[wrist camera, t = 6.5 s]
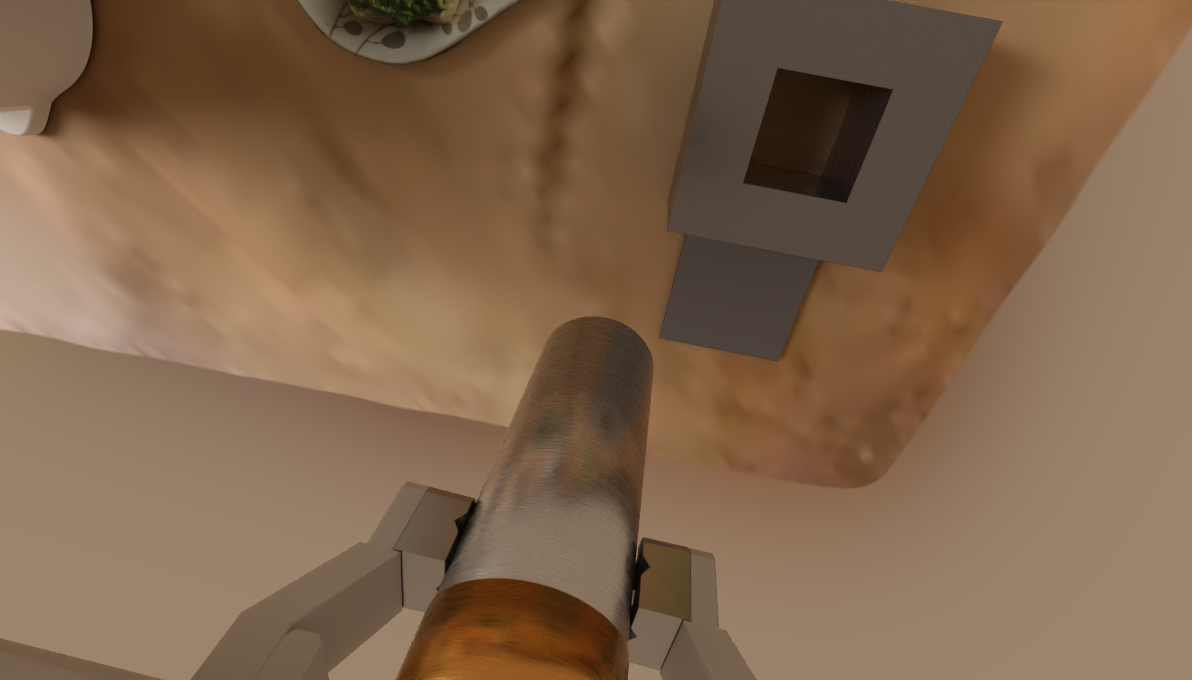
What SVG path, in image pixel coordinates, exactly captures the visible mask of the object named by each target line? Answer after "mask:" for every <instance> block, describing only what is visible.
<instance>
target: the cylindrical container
mask: <svg viewBox="0 0 1192 680" xmlns="http://www.w3.org/2000/svg"><path fill="white" fill-rule="evenodd" d="M653 367H654V366H653V359H652V356H651V353H650V351H649V348H648V347H647V345H646V343H645V342H644V341H643V339H642V338H641V337H640V336H639V335H638V334H637V333H636V332H635V331H633V330H632V329H631V328H629V327H628V326H626V325H624V324H622V323H620V322H618V321H615V320H612V319H609V318H603V317H582V318H577V319H574V320H571V321H568V322H566V323H564V324H563V325H561V326H560V327H558V328H557V329H556V330H555V331H554V332H553V333H552V334H551V335H550V336H549V338H548V340H547V341H546V343H545V345H544V348H543V350H542V352H541V355H540V357H539V359H538V362H537V364H536V366H535V368H534V371H533V373H532V375H531V378H530V380H529V382H528V385H527V387H526V389H525V391H524V394H523V396H522V398H521V401H520V403H519V405H518V408H517V410H516V412H515V414H514V417H513V419H512V421H511V424H510V426H509V428H508V431H507V433H506V435H505V437H504V440H503V442H502V445H501V447H500V449H499V451H498V454H497V456H496V458H495V460H494V463H493V465H492V467H491V470H490V472H489V474H488V477H487V479H486V481H485V483H484V486H483V488H482V490H481V493H480V495H479V497H478V499H477V502H476V504H475V507H474V509H473V511H472V514H471V516H470V518H469V521H468V523H467V525H466V527H465V529H464V532H463V534H462V536H461V539H460V541H459V543H458V546H457V548H456V551H455V553H454V555H453V557H452V560H451V562H450V564H449V567H448V569H447V571H446V573H445V576H444V578H443V580H442V582H441V584H440V587H439V589H438V591H437V594H436V596H435V597H434V598H433V599H432V601H431V602H430V604H429V605H428V607H427V609H426V612H425V614H424V616H423V618H422V621H421V623H420V625H419V628H418V630H417V632H416V634H415V637H414V639H413V642H412V643H411V646H410V648H409V651H408V652H407V655H406V657H405V659H404V662H403V664H402V666H401V668H400V671H399V673H398V675H397V677H396V680H628V669H629V652H628V637H629V627H630V616H631V605H632V595H633V584H634V573H635V563H636V552H637V541H638V531H639V520H640V509H641V499H642V488H643V477H644V466H645V456H646V445H647V434H648V424H649V413H650V402H651V392H652V381H653Z"/></svg>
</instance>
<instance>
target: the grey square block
mask: <svg viewBox="0 0 1192 680" xmlns="http://www.w3.org/2000/svg"><path fill="white" fill-rule="evenodd" d="M1002 22H1003V21H997V20H992V19H986V18H981V17H975V16H970V15H964V14H959V13H953V12H948V11H942V10H937V9H931V8H926V7H920V6H915V5H909V4H904V3H898V2H893V1H887V0H715V1H714V6H713V10H712V14H711V19H710V23H709V27H708V32H707V36H706V40H705V44H704V49H703V53H702V57H701V62H700V66H699V70H698V75H697V79H696V83H695V88H694V92H693V96H692V101H691V105H690V109H689V114H688V118H687V122H686V126H685V131H684V135H683V139H682V144H681V148H680V152H679V157H678V161H677V165H676V170H675V174H674V178H673V183H672V187H671V191H670V195H669V200H668V221H667V230H668V231H673V232H678V233H683V234H688V235H694V236H699V237H704V238H709V239H714V240H719V241H724V242H730V243H735V244H740V245H745V246H750V247H755V248H760V249H766V250H771V251H776V252H781V253H786V254H791V255H796V256H802V257H807V258H812V259H817V260H822V261H827V262H832V263H838V264H843V265H848V266H853V267H858V268H863V269H868V270H874V271H879V272H882V270H883V268H884V266H885V264H886V262H887V260H888V258H889V256H890V254H891V252H892V250H893V248H894V246H895V243H896V241H897V239H898V237H899V235H900V233H901V231H902V229H903V227H904V225H905V223H906V221H907V219H908V217H909V214H910V212H911V210H912V208H913V206H914V204H915V202H916V200H917V198H918V196H919V194H920V192H921V190H922V188H923V185H924V183H925V181H926V179H927V177H928V175H929V173H930V171H931V169H932V167H933V165H934V163H935V161H936V159H937V156H938V154H939V152H940V150H941V148H942V146H943V144H944V142H945V140H946V138H947V136H948V134H949V132H950V130H951V127H952V125H953V123H954V121H955V119H956V117H957V115H958V113H959V111H960V109H961V107H962V105H963V103H964V101H965V98H966V96H967V94H968V92H969V90H970V88H971V86H972V84H973V82H974V80H975V78H976V76H977V74H978V72H979V69H980V67H981V65H982V63H983V61H984V59H985V57H986V55H987V53H988V51H989V49H990V47H991V45H992V43H993V40H994V38H995V36H996V34H997V32H998V30H999V28H1000V26H1001V24H1002ZM778 68H781V69H786V70H792V71H797V72H802V73H808V74H813V75H819V76H824V77H829V78H835V79H840V80H845V81H851V82H856V83H857V85H856V88H855V90H854V93H853V95H852V98H851V101H850V103H849V106H848V109H847V111H846V114H845V117H844V119H843V122H842V125H841V127H840V130H839V133H838V135H837V138H836V140H835V143H834V146H833V148H832V151H831V154H830V156H829V159H828V162H827V164H826V167H825V170H824V172H823V175H822V176H817V175H812V174H807V173H802V172H796V171H791V170H786V169H781V168H775V167H770V166H765V165H760V164H754V163H749V162H750V158H751V155H752V152H753V148H754V145H755V142H756V138H757V135H758V132H759V128H760V125H761V122H762V119H763V115H764V112H765V109H766V105H767V102H768V99H769V95H770V92H771V89H772V85H773V82H774V79H775V75H776V72H777V69H778Z"/></svg>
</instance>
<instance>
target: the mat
mask: <svg viewBox="0 0 1192 680" xmlns="http://www.w3.org/2000/svg"><path fill="white" fill-rule="evenodd" d="M818 262H819V260H817V259H812V258H807V257H802V256H796V255H791V254H786V253H781V252H776V251H771V250H766V249H760V248H755V247H750V246H745V245H740V244H735V243H730V242H724V241H719V240H714V239H709V238H704V237H699V236H694V235H688V234H686V236H685V240H684V244H683V248H682V252H681V255H680V259H679V263H678V267H677V271H676V275H675V279H674V283H673V286H672V290H671V294H670V298H669V302H668V306H667V310H666V313H665V317H664V321H663V325H662V329H661V333H660V338H662V339H667V340H672V341H677V342H682V343H687V344H692V345H697V346H702V347H707V348H712V349H717V350H723V351H728V352H733V353H738V354H743V355H748V356H753V357H758V358H763V359H768V360H773V361H778V360H779V357H780V355H781V352H782V350H783V348H784V345H785V343H786V340H787V338H788V335H789V333H790V330H791V328H792V326H793V323H794V321H795V318H796V316H797V313H798V311H799V308H800V306H801V304H802V301H803V299H804V296H805V294H806V291H807V289H808V286H809V284H810V282H811V279H812V277H813V274H814V272H815V269H816V267H817V265H818Z"/></svg>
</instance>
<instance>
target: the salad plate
mask: <svg viewBox="0 0 1192 680" xmlns="http://www.w3.org/2000/svg"><path fill="white" fill-rule="evenodd" d="M518 1H519V0H298V2H299V3H300V5H301V6H302V7H303V9H304V10H305V11H306V13H307V14H308V15H309V17H310V18H311V20H312V21H313V23H314V24H315V26H316V27H317V28H318V29H319V30H320V31H321V32H322V33H323V34H324V35H325V36H326V37H327V38H328V39H330V40H331V41H332V42H334V43H335V44H336V45H338V46H339V47H341V48H343V49H345V50H346V51H348V52H350V53H352V54H354V55H356V56H360V57H363V58H366V59H370V60H374V61H378V62H383V63H387V64H401V65H403V64H410V63H415V62H419V61H424V60H427V59H431V58H433V57H435V56H437V55H439V54H442V53H444V52H447V51H448V50H450V49H452V48H453V47H455V46H457V45H458V44H459V43H460V42H461V41H462V40H463V39H464V38H465V37H466V36H467V35H468V34H470V33H471V32H473V31H474V30H476V29H477V28H479V27H480V26H482V25H484V24H485V23H487V22H488V21H490V20H491V19H492V18H494V17H495V16H497V15H498V14H500V13H501V12H502V11H504V10H505V9H507V8H509V7H511V6H512V5H513V4H515V3H516V2H518Z"/></svg>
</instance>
